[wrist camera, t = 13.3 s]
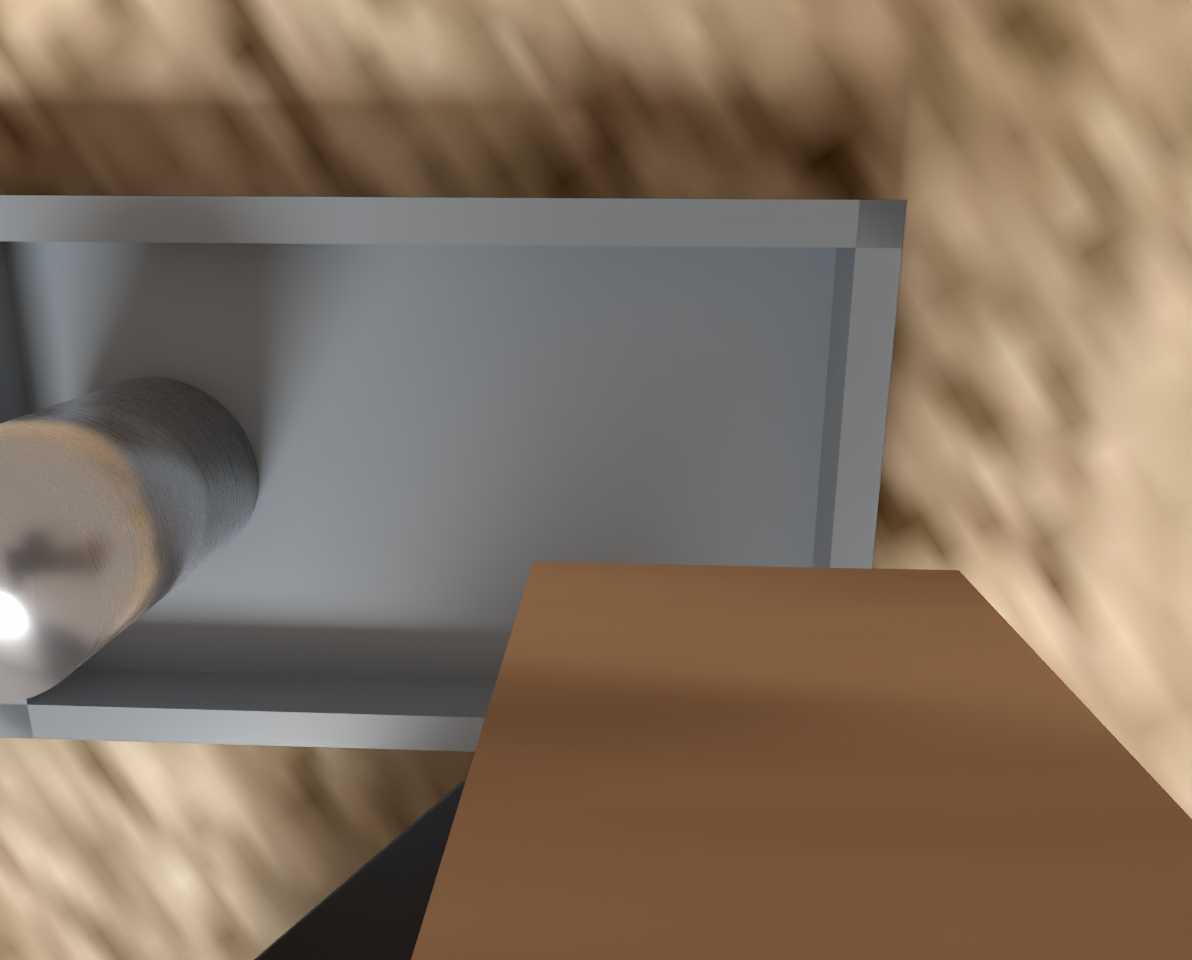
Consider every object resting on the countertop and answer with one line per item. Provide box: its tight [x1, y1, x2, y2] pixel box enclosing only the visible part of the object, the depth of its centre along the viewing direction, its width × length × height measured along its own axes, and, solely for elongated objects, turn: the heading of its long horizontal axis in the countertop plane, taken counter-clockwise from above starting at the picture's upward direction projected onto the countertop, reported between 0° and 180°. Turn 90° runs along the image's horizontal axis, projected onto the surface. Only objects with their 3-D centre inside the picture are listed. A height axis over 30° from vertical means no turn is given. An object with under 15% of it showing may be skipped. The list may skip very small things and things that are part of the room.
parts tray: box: [0, 195, 907, 752], centre depth 19 cm, size 11×18×2 cm, turn 90°
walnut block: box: [411, 562, 1192, 960], centre depth 7 cm, size 4×4×5 cm
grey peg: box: [0, 377, 258, 703], centre depth 16 cm, size 4×4×6 cm
